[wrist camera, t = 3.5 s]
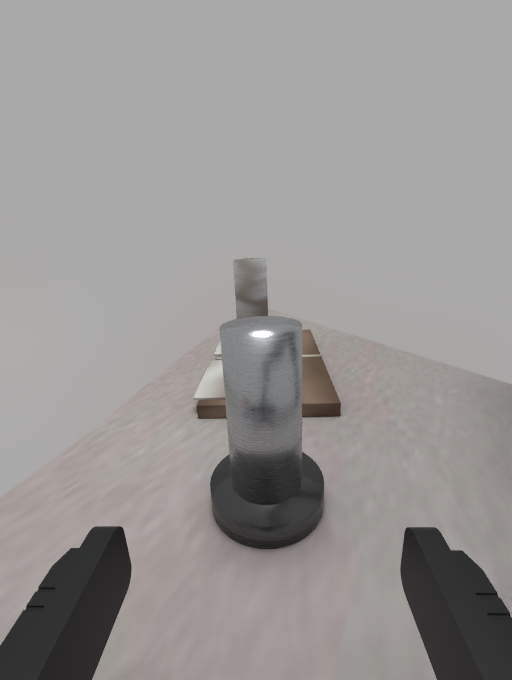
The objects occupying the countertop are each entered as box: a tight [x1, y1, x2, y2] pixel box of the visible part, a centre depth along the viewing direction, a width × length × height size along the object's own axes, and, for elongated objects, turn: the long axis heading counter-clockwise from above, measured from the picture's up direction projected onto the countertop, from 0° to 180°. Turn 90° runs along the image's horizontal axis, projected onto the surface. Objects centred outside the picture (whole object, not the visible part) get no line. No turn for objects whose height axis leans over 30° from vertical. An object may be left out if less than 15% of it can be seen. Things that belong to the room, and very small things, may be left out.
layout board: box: [194, 258, 341, 418], centre depth 36 cm, size 12×22×12 cm, turn 178°
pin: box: [210, 316, 324, 549], centre depth 18 cm, size 6×6×10 cm
